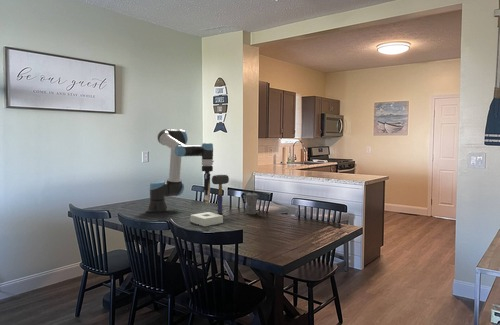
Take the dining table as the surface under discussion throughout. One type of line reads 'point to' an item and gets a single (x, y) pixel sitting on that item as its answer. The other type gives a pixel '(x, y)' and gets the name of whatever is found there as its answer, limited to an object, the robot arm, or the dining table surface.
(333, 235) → the dining table surface
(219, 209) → the rubber mallet
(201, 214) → the socket block
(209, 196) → the beech peg
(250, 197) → the coffeepot
